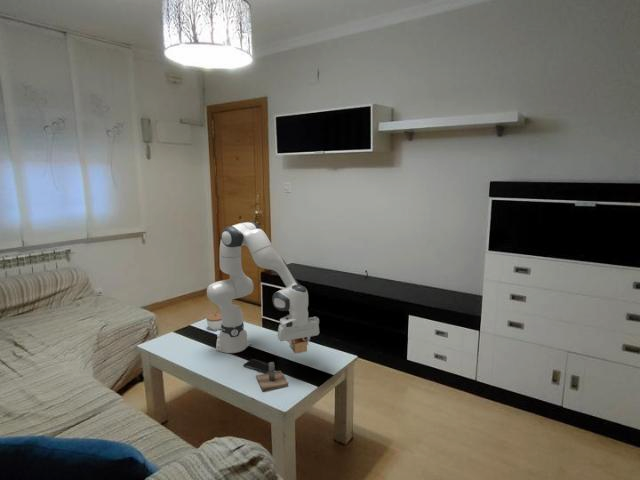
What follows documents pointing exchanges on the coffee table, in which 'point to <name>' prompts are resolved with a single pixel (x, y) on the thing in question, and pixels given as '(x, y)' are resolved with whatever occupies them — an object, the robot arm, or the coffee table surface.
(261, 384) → the post stand
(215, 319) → the lidded jar
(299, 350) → the wooden square sleeve
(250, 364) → the phone
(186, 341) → the coffee table surface
